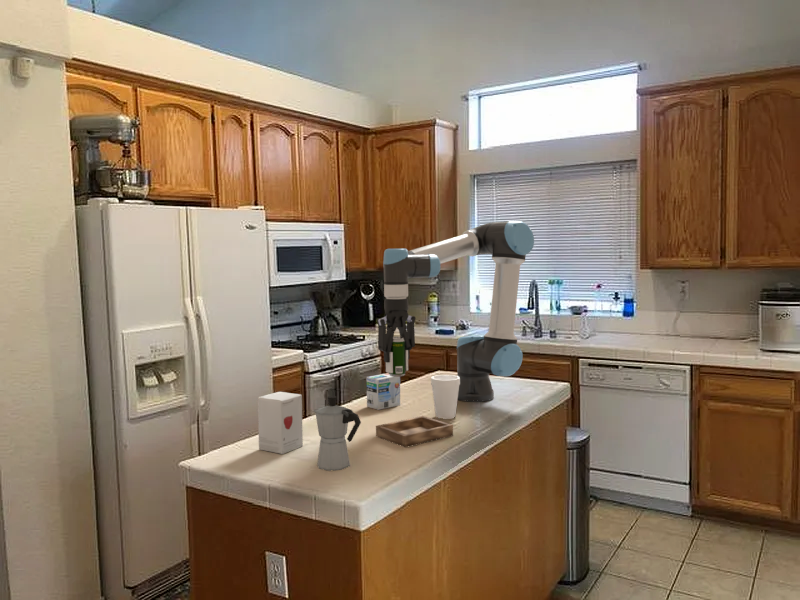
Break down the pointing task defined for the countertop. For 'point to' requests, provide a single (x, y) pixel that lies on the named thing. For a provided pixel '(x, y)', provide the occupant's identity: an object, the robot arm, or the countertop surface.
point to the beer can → (398, 357)
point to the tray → (414, 431)
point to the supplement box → (280, 422)
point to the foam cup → (445, 395)
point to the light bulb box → (383, 391)
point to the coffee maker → (334, 435)
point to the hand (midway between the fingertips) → (397, 371)
